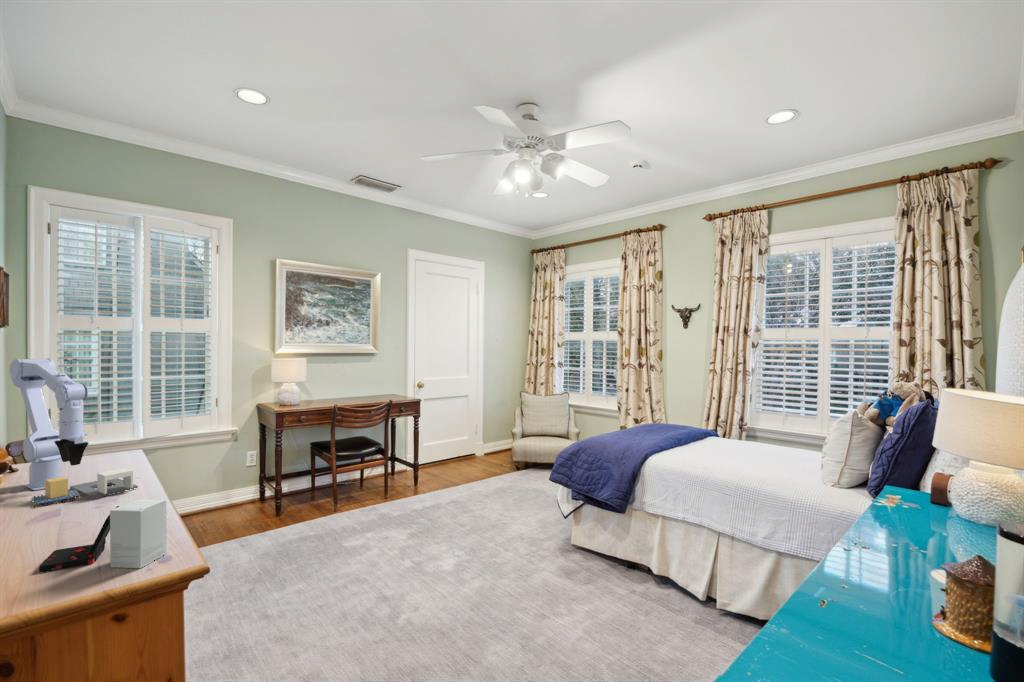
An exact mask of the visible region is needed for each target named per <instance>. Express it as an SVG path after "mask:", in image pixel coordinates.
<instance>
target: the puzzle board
mask: <svg viewBox="0 0 1024 682" xmlns="http://www.w3.org/2000/svg"><path fill="white" fill-rule="evenodd" d="M107 485H109V486H107V494H104V493H101V492H99V491H97V480H95V481H90V482H84V483H79V484H75V485H70V486H69V490H71V491H72V490H76V492H78V495H79V494H80V495H81V494H82V495H81V496H84V497H86V498H88V499H91V500H93V498H94V499H97V498H96V497H98V498H101V496H103V497H106V496H105V495H107V496H110V495H109V494H112V495H114V494H113V493H116V494H118V493H117V492H121V493H123V492H122V491H125V490H130V489H134V488H138V485H136V484H134V483H133V488H129V487H126V486H124V485H123V479H122V478H117V479H112V480H107ZM111 485H113V486H111ZM134 490H135V489H134ZM130 491H131V490H130ZM125 492H126V491H125Z"/></svg>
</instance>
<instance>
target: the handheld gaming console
mask: <svg viewBox="0 0 1024 682" xmlns="http://www.w3.org/2000/svg"><path fill="white" fill-rule="evenodd" d="M120 506H121V505H120ZM120 506H119V505H117V506H116V507H115V508H117V507H120ZM109 533H110V514H108V516H107V517H106V519H105V521H104V523H103V524H102V526H101V528H100V531H99V532H98V535H97V536H96V538H95V541H93V543H92V544H86V545H79V546H73V547H66V548H58V549H56V550H53V551H52V553H51V554H49V555H48V556H47V558H45V560H43V561H42V563H41V564H39V569H38V571H39V572H43V573H48V572H47V571H49V572H53V571H54V572H55V571H59V570H65V569H66V570H67V569H72V568H77V567H78V566H79V567H84V565H85V566H88V565H93V564H94V563H95V562H96V561H97V560H98V559H99V557H100V556H101V555H102V553H103V552H104V551H105V549H106V543H107V541H106V540H107V539H106V538H107V536H108V535H109Z"/></svg>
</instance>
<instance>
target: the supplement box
mask: <svg viewBox="0 0 1024 682" xmlns="http://www.w3.org/2000/svg"><path fill="white" fill-rule="evenodd" d="M116 507H117V506H116ZM116 507H115V508H113V509H110V510H109V515H110V531H109V533H110V534H109V537H110V539H109V540H110V543H109V545H110V546H109V547H110V553H109V555H110V557H109V559H110V568H123V569H126V568H127V569H128V568H129V569H142V568H144V567H146V566H147V565H149V564H151V563H153V562H155V561H157V560H158V558H159V559H160V558H162V557H164V556H166V555H167V550H168V549H167V548H168V547H167V539H168V538H167V500H166V499H135V500H133V501H130V502H128V503H125V504H122V505H120V507H117V508H116ZM165 554H166V555H165ZM163 555H164V556H163ZM161 556H162V557H161ZM156 559H157V560H156ZM154 560H155V561H154Z"/></svg>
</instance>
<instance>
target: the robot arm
mask: <svg viewBox="0 0 1024 682" xmlns="http://www.w3.org/2000/svg"><path fill="white" fill-rule="evenodd" d="M9 374H10V378H11V379H10V380H11V381H12V385H13V386H14V387H17V388H19V390H20V393H21V396H22V400H23V404H24V407H25V411H26V414H27V418H28V421H29V425H30V430H31V434H30V435H28V436H27V437H26V438H25V439H24V441H23V442H22V446H23V457H24V459H25V460H27V461H28V462H29V463H30V465H29V468H28V470H29V471H28V474H29V475H28V479H29V481H28V482H29V483H26V484H25V487H26V488H28V489H30V490H32V491H38V490H39V491H40V490H45V480H48V479H54V478H59V477H62V463H66V462H69V464H70V466H78V465H79V466H80V464H81V463H82V459H83V455H84V452H85V451H86V449H87V447H88V446H89V442H88V441H85V442H84V436H88V435H89V433H88V432H84V401H85V400H87V398H88V395H89V391H88V386H87V385H86V384H85V383H84V382H76V381H74V380H73V379H72V378H71V377H69V376H68V375H67V374H66V373H65V372H61V373H60V372H58V371H57V370H56V363H55V361H54V360H53V359H52V358H50V357H49V358H28V359H27V358H26V359H22V358H21V359H19V358H15V359H13V360H12V361H11V363H10V366H9ZM44 386H47V388H49V389H50V390H51V391H52V392H53V393H54V396H55V400H56V406H57V408H58V410H59V411H58V412H59V413H58V414H59V421H58V422H59V423H58V430H57V429H54V428H53V426H52V422H51V421H52V420H51V418H50V415H49V411H48V408H47V404H46V400H45V397H44V394H43V390H42V387H44Z"/></svg>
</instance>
